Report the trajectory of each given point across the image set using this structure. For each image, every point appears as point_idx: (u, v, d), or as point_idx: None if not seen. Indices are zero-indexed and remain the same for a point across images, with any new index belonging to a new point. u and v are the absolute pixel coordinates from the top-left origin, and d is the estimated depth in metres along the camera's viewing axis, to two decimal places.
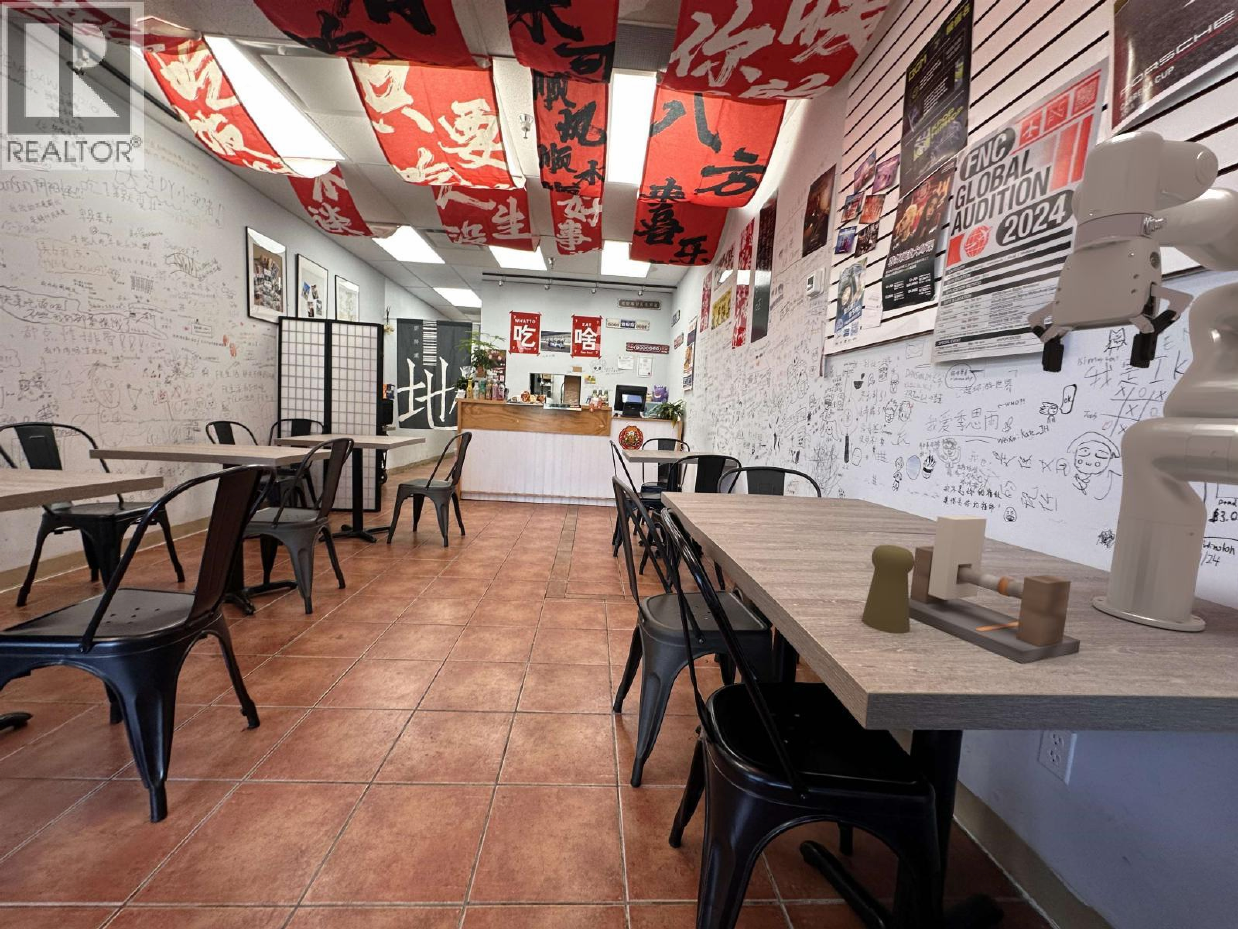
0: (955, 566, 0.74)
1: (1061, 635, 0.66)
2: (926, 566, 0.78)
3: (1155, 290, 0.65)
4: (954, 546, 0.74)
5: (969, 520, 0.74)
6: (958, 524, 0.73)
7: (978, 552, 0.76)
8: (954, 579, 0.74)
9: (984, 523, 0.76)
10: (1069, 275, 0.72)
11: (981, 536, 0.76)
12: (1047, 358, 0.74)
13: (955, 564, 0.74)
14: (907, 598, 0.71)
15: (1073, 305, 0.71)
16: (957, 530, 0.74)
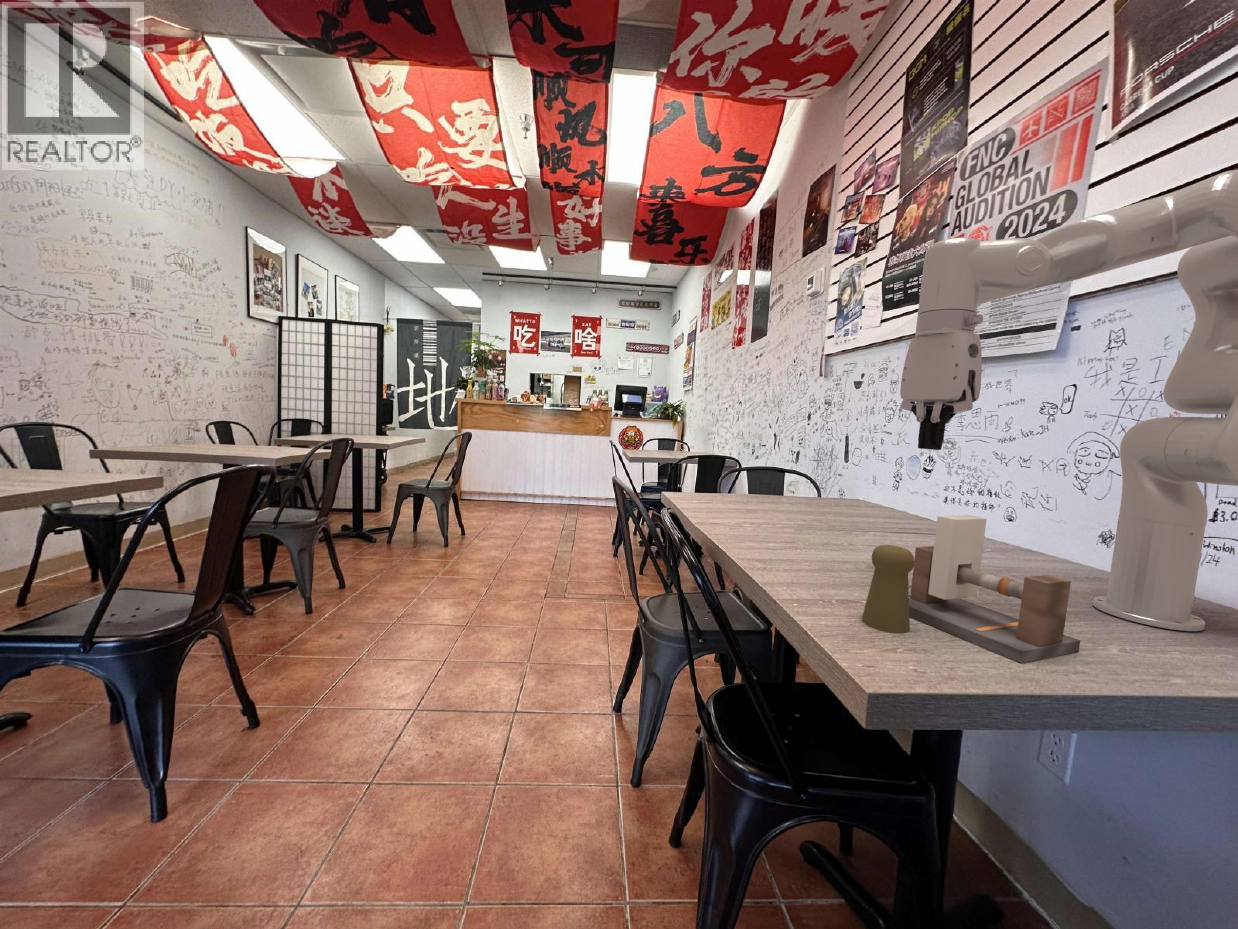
0: (955, 566, 0.74)
1: (1061, 635, 0.66)
2: (926, 566, 0.78)
3: None
4: (954, 546, 0.74)
5: (969, 520, 0.74)
6: (958, 524, 0.73)
7: (978, 552, 0.76)
8: (954, 579, 0.74)
9: (984, 523, 0.76)
10: (912, 357, 0.81)
11: (981, 536, 0.76)
12: (921, 437, 0.80)
13: (955, 564, 0.74)
14: (907, 598, 0.71)
15: (914, 384, 0.80)
16: (957, 530, 0.74)
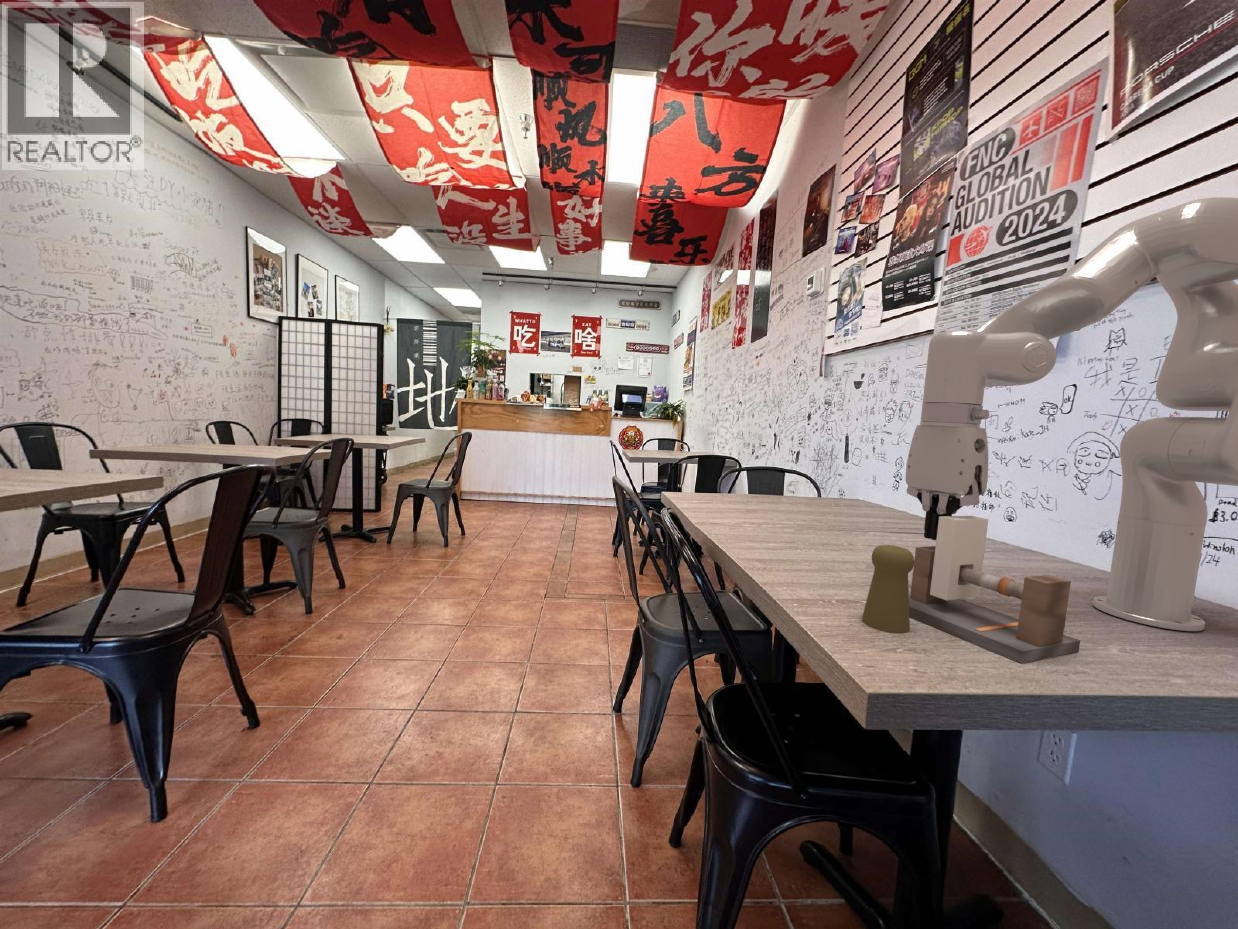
0: (957, 567, 0.74)
1: (1061, 635, 0.66)
2: (926, 566, 0.78)
3: None
4: (956, 546, 0.73)
5: (971, 520, 0.74)
6: (960, 524, 0.73)
7: (980, 552, 0.76)
8: (956, 580, 0.74)
9: (986, 523, 0.75)
10: (917, 445, 0.80)
11: (983, 536, 0.76)
12: (927, 527, 0.79)
13: (957, 565, 0.74)
14: (907, 598, 0.71)
15: (919, 472, 0.79)
16: (959, 530, 0.73)
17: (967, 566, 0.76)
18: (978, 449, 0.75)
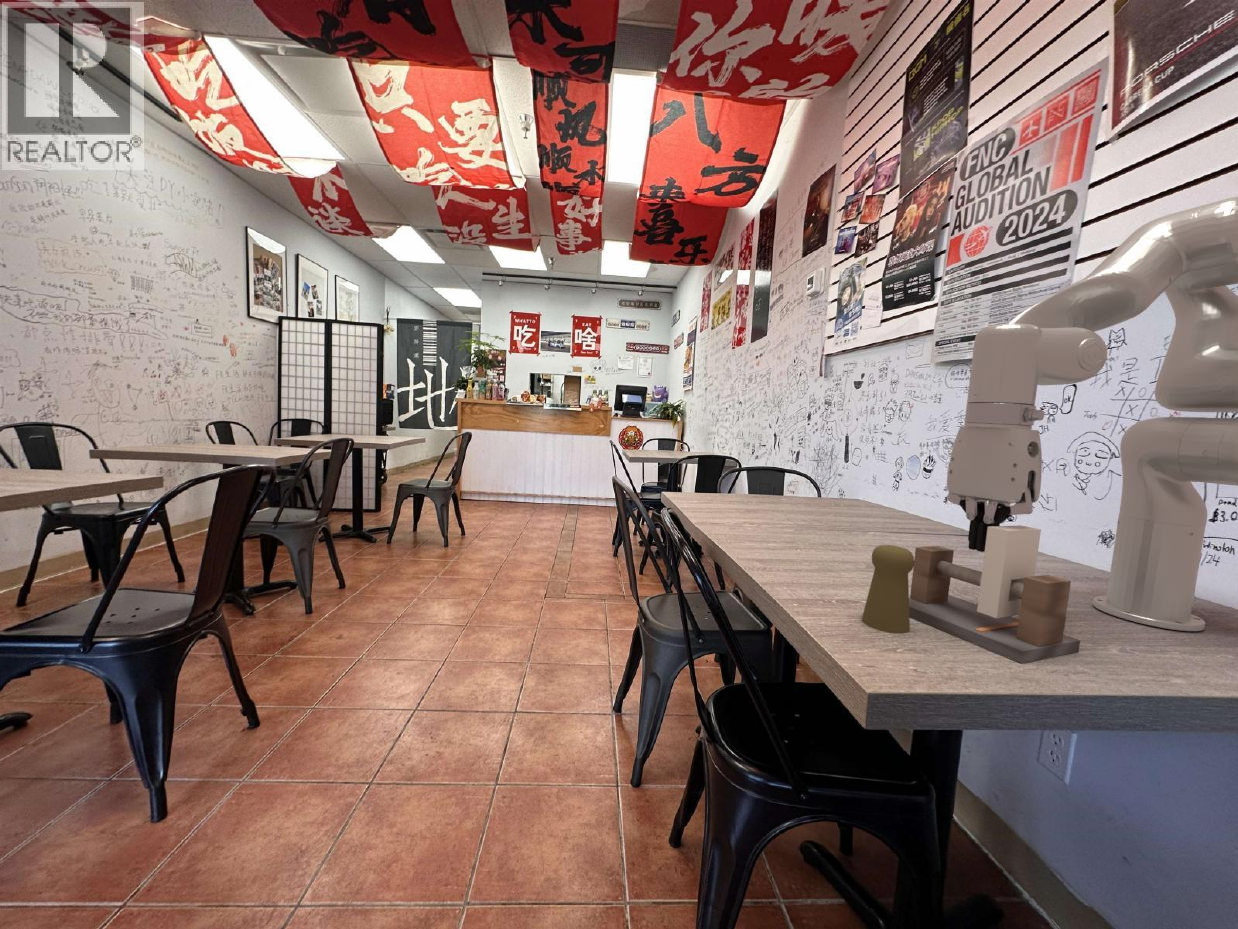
0: (1008, 582, 0.68)
1: (1061, 635, 0.66)
2: (926, 566, 0.78)
3: None
4: (1007, 560, 0.67)
5: (1023, 531, 0.68)
6: (1012, 536, 0.67)
7: (1032, 566, 0.69)
8: (1007, 596, 0.68)
9: (1038, 534, 0.69)
10: (960, 448, 0.74)
11: (1035, 548, 0.69)
12: (972, 537, 0.73)
13: (1008, 579, 0.68)
14: (907, 598, 0.71)
15: (963, 478, 0.73)
16: (1011, 542, 0.67)
17: (1017, 580, 0.70)
18: (1031, 453, 0.68)
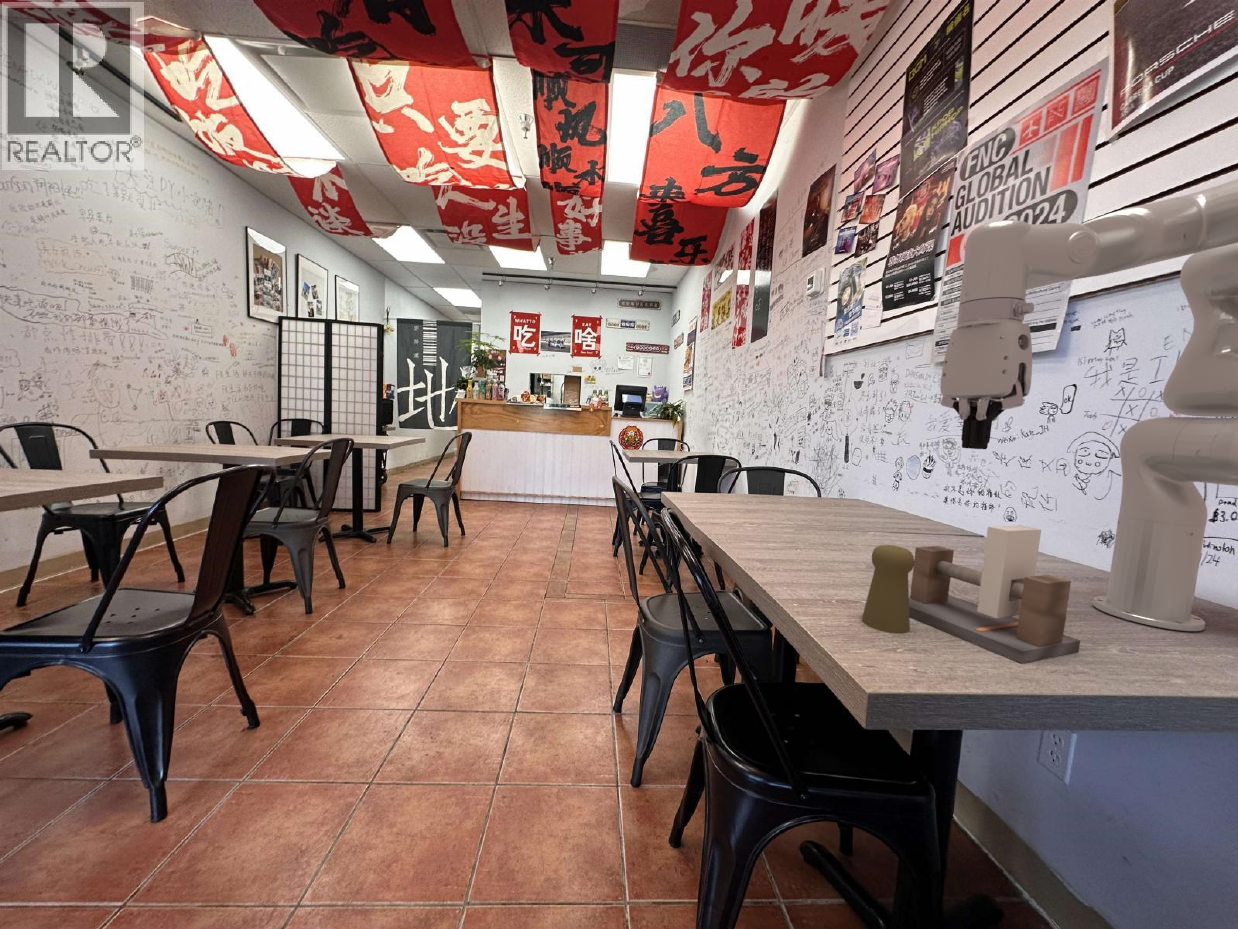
0: (1008, 582, 0.68)
1: (1061, 635, 0.66)
2: (926, 566, 0.78)
3: None
4: (1007, 560, 0.67)
5: (1023, 531, 0.68)
6: (1012, 536, 0.67)
7: (1032, 566, 0.69)
8: (1007, 596, 0.68)
9: (1039, 534, 0.69)
10: (953, 350, 0.75)
11: (1035, 548, 0.69)
12: (965, 436, 0.74)
13: (1008, 579, 0.68)
14: (907, 598, 0.71)
15: (956, 379, 0.75)
16: (1011, 542, 0.67)
17: (1017, 580, 0.70)
18: (1021, 347, 0.70)
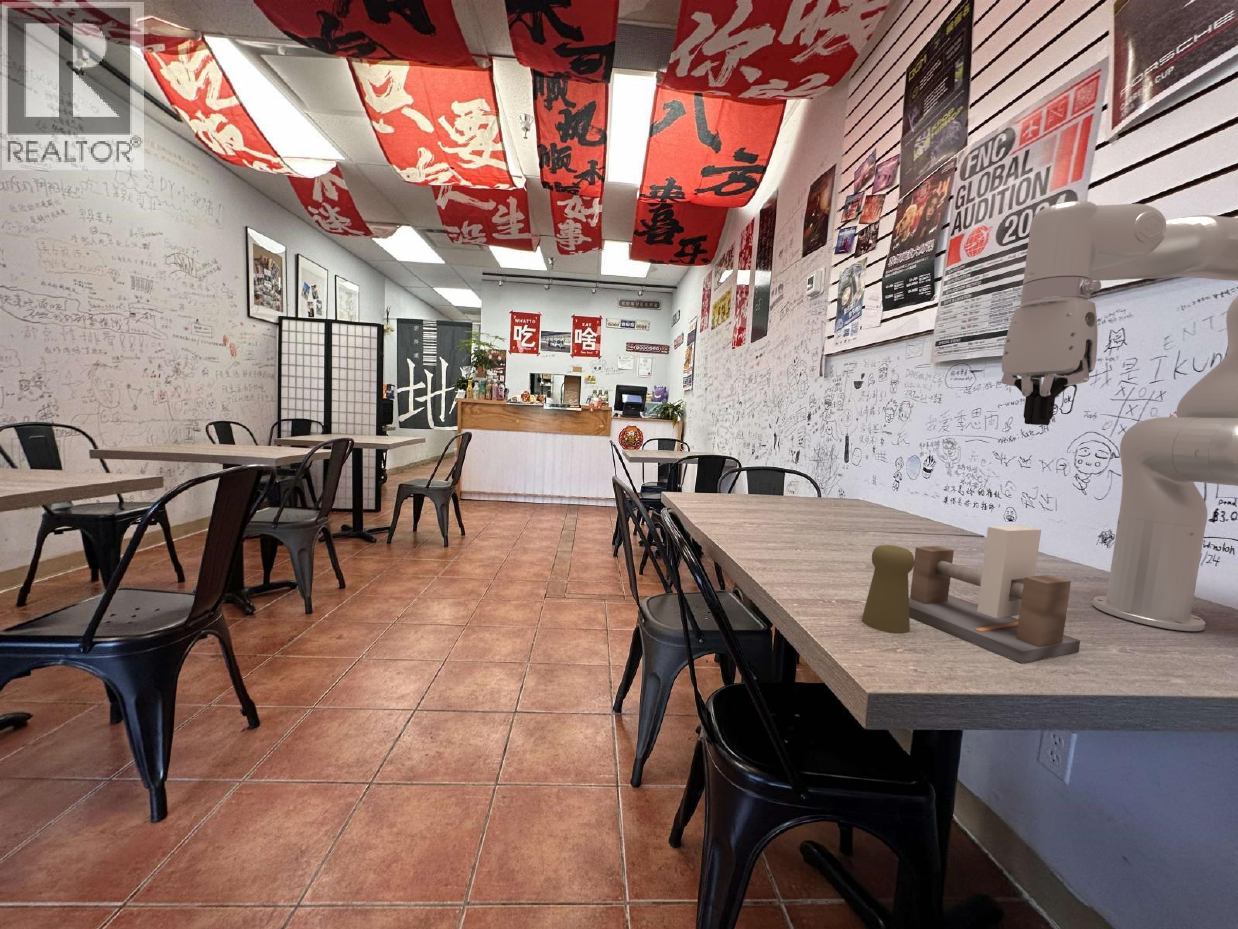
0: (1008, 582, 0.68)
1: (1061, 635, 0.66)
2: (926, 566, 0.78)
3: None
4: (1007, 560, 0.67)
5: (1023, 531, 0.68)
6: (1012, 536, 0.67)
7: (1032, 566, 0.69)
8: (1007, 596, 0.68)
9: (1039, 534, 0.69)
10: (1016, 328, 0.78)
11: (1035, 548, 0.69)
12: (1028, 412, 0.76)
13: (1008, 579, 0.68)
14: (907, 598, 0.71)
15: (1020, 356, 0.77)
16: (1011, 542, 0.67)
17: (1017, 580, 0.70)
18: (1087, 325, 0.72)
